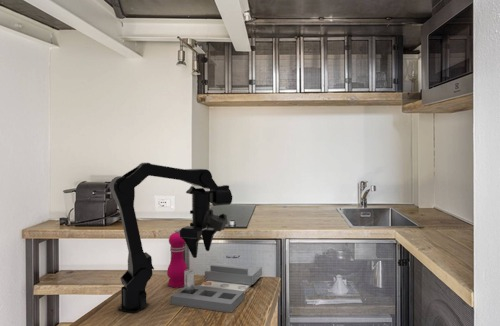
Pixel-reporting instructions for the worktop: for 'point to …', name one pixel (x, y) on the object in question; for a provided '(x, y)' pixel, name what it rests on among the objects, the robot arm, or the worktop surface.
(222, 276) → the cover
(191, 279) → the pin
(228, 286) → the plate
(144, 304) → the robot arm
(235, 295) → the hole board
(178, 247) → the pepper mill
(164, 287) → the worktop surface
